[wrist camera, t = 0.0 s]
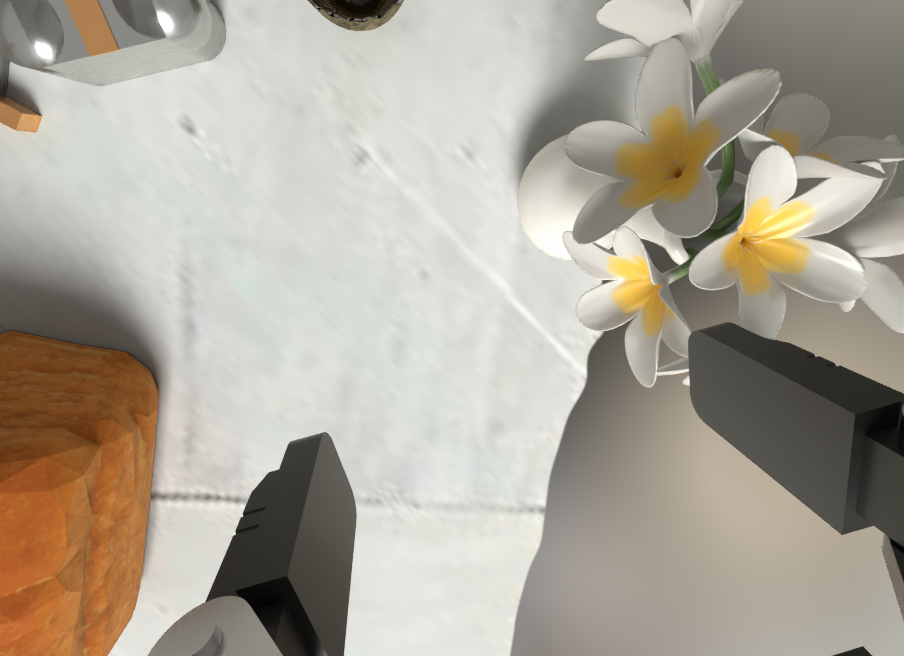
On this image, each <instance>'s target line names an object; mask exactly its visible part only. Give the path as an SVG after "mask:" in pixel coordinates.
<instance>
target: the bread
mask: <svg viewBox="0 0 904 656" xmlns="http://www.w3.org/2000/svg"><path fill="white" fill-rule="evenodd" d="M158 400H159V392H158V389H157V387H156V384H155V381H154V379H153V376H152V374H151V371H150V370H149V369H148V368H147V367H145V366H144V365H143V364H141V363H140V362H139V361H137V360H136V359H135V358H133V357H132V356H131V355H129V354H128V353H127V352H122V351H116V350H110V349H104V348H98V347H92V346H85V345H79V344H74V343H69V342H65V341H60V340H55V339H50V338H45V337H40V336H35V335H31V334H26V333H21V332H16V331H9V332H5V333H2V334H0V656H108V654H109V653H110V651H111V649H112V648H113V646H114V645H115V643H116V641H117V640H118V638H119V637H120V635H121V634H122V632H123V630H124V629H125V627H126V626H127V624H128V623H129V621H130V619H131V618H132V614H133V611H134V610H135V606H136V602H137V598H138V593H139V589H140V584H141V577H142V570H143V560H144V551H145V541H146V533H147V524H148V516H149V506H150V496H151V486H152V475H153V463H154V452H155V440H156V427H157V413H158Z"/></svg>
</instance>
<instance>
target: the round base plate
mask: <svg viewBox="0 0 904 656" xmlns="http://www.w3.org/2000/svg"><path fill="white" fill-rule="evenodd" d="M8 73H9V60H8V59H6V58H5V57H3V56H2V55H1V54H0V122H1V123H3V124H5V125H7V126H9V127H10V128H12V129H14V130H17V131H27V132H37V129H38V126H39V123H40V120H41V117H42V116H40V115H39V114H37V113H35V112H33V111H31V110H29V109H27V108H25V107H24V106H22V105H20V104H18V103H16V102H14V101H12V100H11V99H9V98H7V97H5V94H6V89H7V85H8Z"/></svg>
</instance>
